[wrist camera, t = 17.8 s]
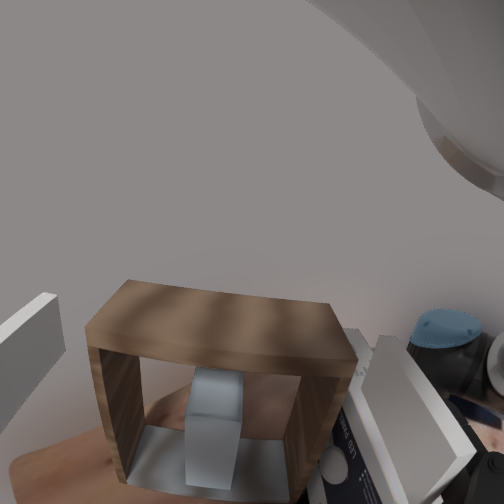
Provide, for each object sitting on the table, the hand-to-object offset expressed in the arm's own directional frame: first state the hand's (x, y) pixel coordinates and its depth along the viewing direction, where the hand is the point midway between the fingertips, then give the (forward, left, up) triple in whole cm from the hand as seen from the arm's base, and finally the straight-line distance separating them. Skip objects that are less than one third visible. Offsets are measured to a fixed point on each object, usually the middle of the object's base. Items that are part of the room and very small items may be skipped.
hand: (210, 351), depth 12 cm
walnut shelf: (0, -18, -34) cm, 39 cm away
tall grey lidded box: (0, -18, -33) cm, 38 cm away
